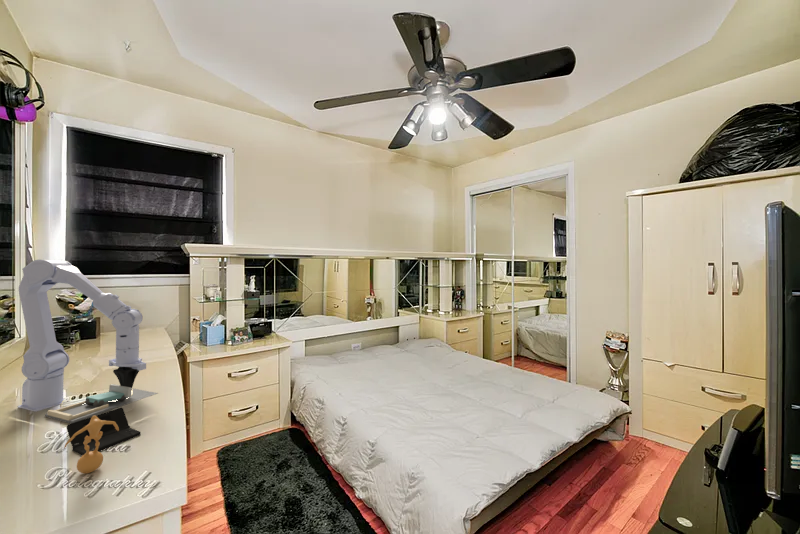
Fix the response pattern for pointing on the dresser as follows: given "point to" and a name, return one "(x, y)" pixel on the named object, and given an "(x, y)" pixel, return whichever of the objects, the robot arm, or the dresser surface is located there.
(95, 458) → the figurine
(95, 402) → the grey teal-panelled part
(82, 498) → the dresser surface
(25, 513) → the dresser surface
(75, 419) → the dock
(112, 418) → the handheld gaming console
